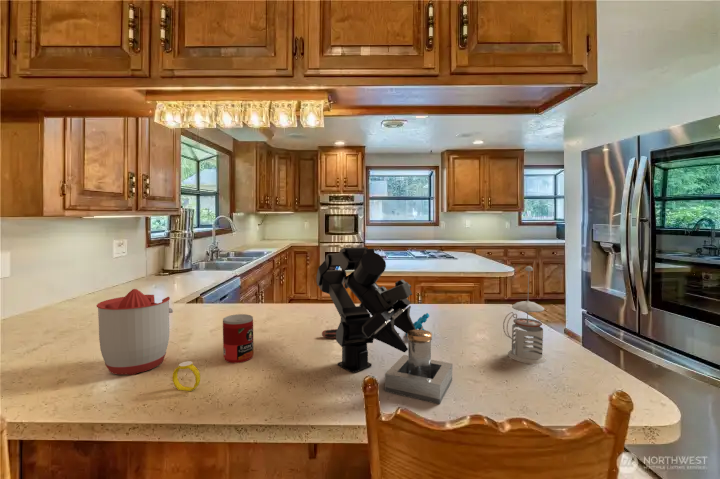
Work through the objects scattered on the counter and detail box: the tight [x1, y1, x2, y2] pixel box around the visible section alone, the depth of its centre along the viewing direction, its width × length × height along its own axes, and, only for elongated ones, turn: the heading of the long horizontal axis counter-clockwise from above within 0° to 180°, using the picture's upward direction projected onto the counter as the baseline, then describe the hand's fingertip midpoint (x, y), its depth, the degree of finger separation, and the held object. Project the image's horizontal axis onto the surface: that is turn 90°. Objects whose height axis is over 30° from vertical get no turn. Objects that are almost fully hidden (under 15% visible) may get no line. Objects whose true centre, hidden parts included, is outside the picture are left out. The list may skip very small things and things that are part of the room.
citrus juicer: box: [96, 288, 174, 376], centre depth 91 cm, size 16×17×20 cm
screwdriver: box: [321, 328, 400, 339], centre depth 113 cm, size 25×3×3 cm, turn 90°
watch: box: [171, 360, 201, 392], centre depth 78 cm, size 6×3×6 cm, turn 80°
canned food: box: [222, 313, 254, 364], centre depth 96 cm, size 8×8×11 cm
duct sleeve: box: [406, 329, 433, 379], centre depth 80 cm, size 5×5×11 cm
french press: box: [502, 265, 547, 365], centre depth 97 cm, size 10×12×25 cm
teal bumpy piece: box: [405, 312, 430, 336], centre depth 114 cm, size 11×6×10 cm
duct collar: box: [384, 354, 453, 405], centre depth 80 cm, size 12×12×4 cm
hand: (412, 344), depth 81 cm, fingers open, 9 cm apart
